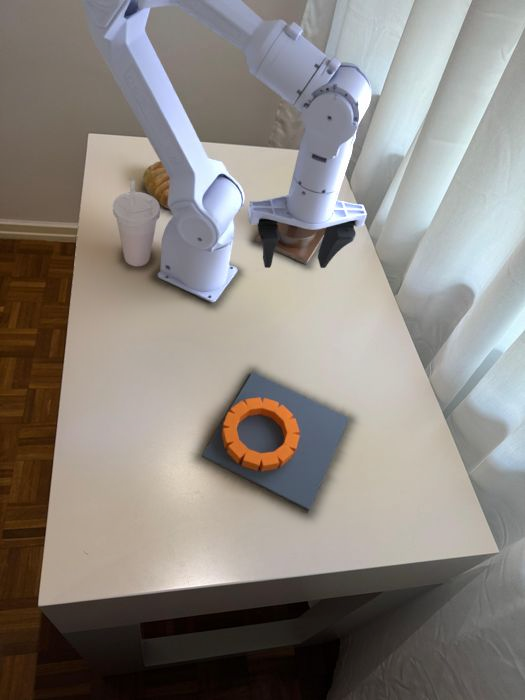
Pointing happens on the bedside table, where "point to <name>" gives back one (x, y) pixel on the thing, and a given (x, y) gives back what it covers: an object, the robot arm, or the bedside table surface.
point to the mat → (267, 436)
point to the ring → (251, 457)
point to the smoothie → (136, 224)
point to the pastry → (157, 183)
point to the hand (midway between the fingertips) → (294, 262)
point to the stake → (297, 241)
